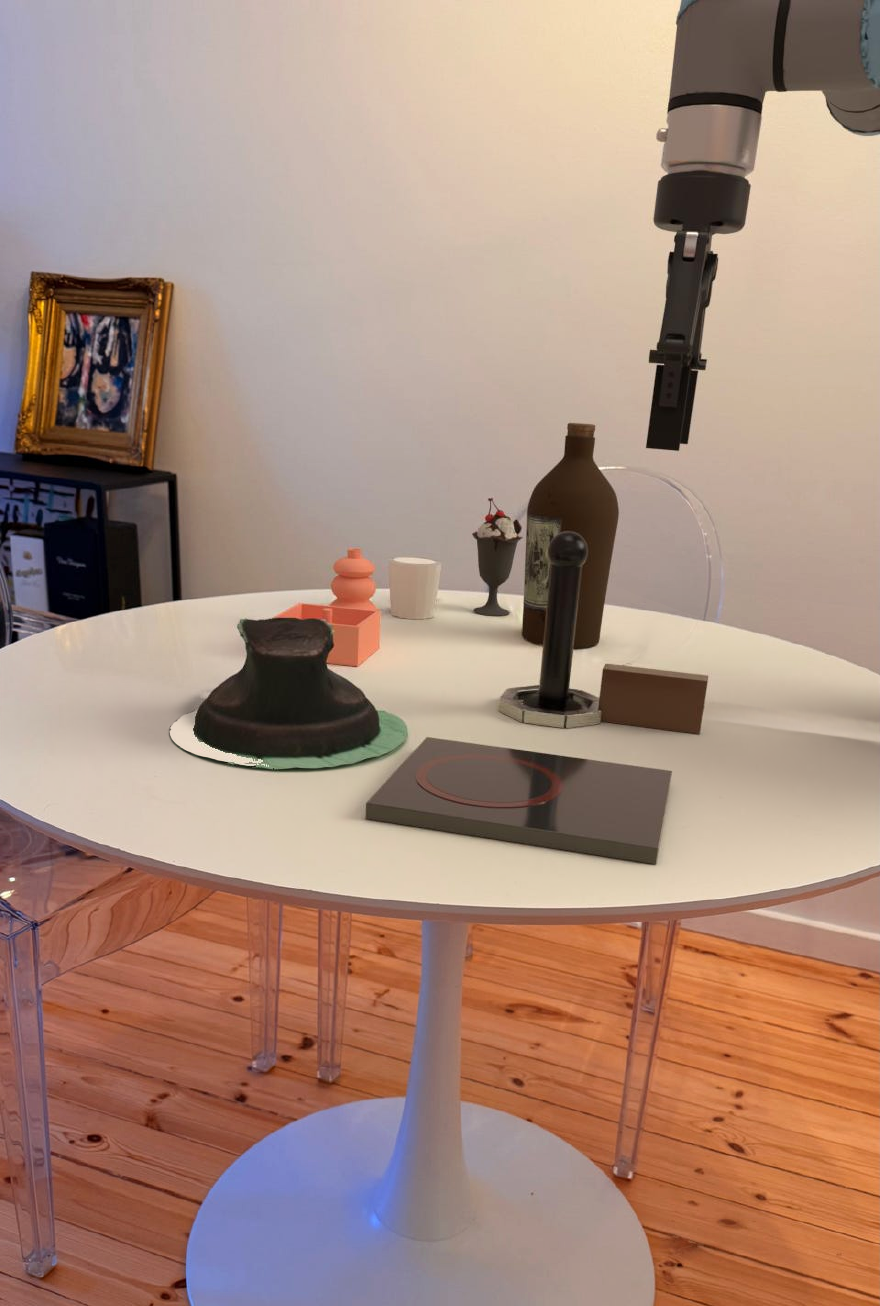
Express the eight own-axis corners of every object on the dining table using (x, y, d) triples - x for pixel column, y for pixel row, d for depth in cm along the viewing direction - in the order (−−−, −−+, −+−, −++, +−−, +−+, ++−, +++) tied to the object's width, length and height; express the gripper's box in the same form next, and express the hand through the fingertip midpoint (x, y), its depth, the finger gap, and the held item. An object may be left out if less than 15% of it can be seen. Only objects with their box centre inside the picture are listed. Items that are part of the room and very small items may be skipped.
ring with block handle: (701, 716, 104) (709, 666, 102) (698, 746, 95) (706, 691, 93) (511, 692, 108) (515, 643, 106) (491, 718, 99) (495, 665, 97)
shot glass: (416, 622, 136) (419, 566, 134) (375, 613, 140) (377, 558, 137) (449, 615, 141) (452, 561, 139) (408, 606, 145) (411, 553, 143)
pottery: (357, 666, 114) (360, 572, 110) (271, 656, 115) (272, 564, 112) (398, 631, 130) (401, 549, 127) (322, 623, 132) (324, 542, 129)
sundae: (463, 614, 142) (471, 497, 137) (470, 605, 149) (479, 492, 143) (512, 619, 141) (523, 501, 136) (518, 609, 148) (528, 496, 142)
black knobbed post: (584, 707, 104) (604, 530, 99) (577, 723, 99) (597, 537, 93) (527, 700, 106) (543, 524, 100) (517, 715, 101) (533, 531, 95)
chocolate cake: (142, 693, 97) (350, 684, 106) (187, 858, 86) (414, 833, 95) (161, 558, 86) (390, 561, 95) (215, 727, 76) (466, 713, 85)
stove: (670, 785, 85) (672, 769, 85) (656, 864, 71) (658, 846, 70) (425, 750, 90) (426, 735, 89) (365, 818, 75) (365, 801, 75)
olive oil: (572, 628, 138) (593, 422, 130) (621, 647, 130) (647, 428, 121) (500, 632, 134) (517, 418, 125) (546, 652, 125) (567, 424, 116)
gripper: (669, 199, 101) (638, 437, 109) (645, 142, 78) (609, 448, 86) (751, 202, 99) (715, 443, 107) (752, 144, 77) (705, 456, 84)
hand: (668, 446), depth 96 cm, fingers open, 13 cm apart
